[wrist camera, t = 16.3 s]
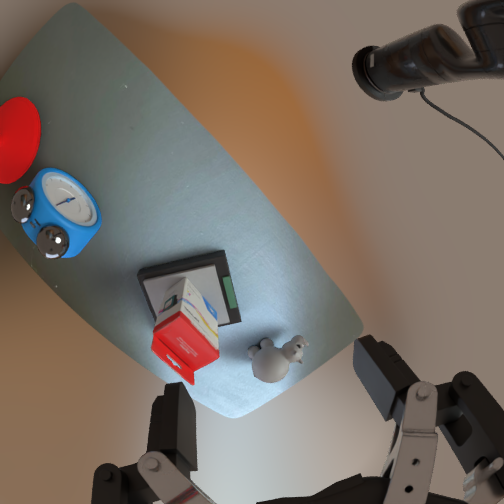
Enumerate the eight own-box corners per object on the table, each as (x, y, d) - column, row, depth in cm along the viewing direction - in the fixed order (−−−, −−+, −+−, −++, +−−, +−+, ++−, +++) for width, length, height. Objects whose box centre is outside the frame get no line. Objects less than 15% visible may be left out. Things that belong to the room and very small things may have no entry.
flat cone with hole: (8, 197, 35) (-14, 205, 28) (-14, 134, 29) (-35, 135, 22) (59, 148, 34) (37, 149, 28) (35, 81, 28) (14, 75, 22)
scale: (224, 249, 45) (225, 257, 42) (240, 314, 50) (242, 324, 47) (139, 269, 44) (135, 277, 41) (163, 330, 49) (161, 340, 46)
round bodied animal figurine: (308, 339, 54) (321, 365, 47) (259, 366, 55) (266, 395, 47) (293, 317, 52) (306, 343, 44) (241, 346, 52) (247, 376, 45)
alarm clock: (113, 218, 40) (74, 248, 26) (92, 242, 41) (51, 279, 27) (67, 163, 36) (14, 171, 22) (47, 189, 36) (-6, 207, 22)
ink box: (218, 311, 45) (223, 373, 32) (195, 326, 46) (193, 388, 32) (185, 275, 42) (177, 331, 28) (162, 291, 42) (146, 349, 29)
